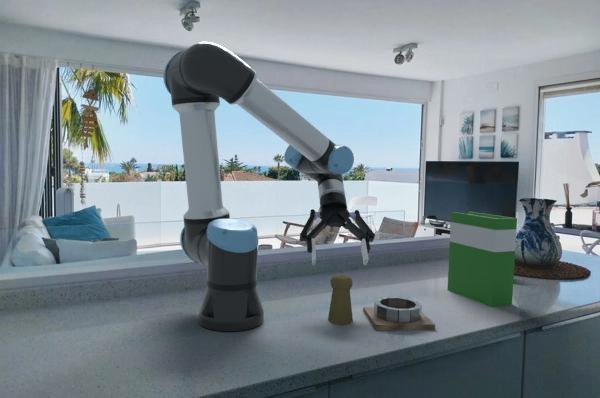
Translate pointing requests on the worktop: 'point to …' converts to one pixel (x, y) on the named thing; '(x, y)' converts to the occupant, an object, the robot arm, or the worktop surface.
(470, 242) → the cereal box
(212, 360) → the worktop surface
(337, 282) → the cork
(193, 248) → the robot arm
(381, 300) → the steel collar
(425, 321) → the walnut board
